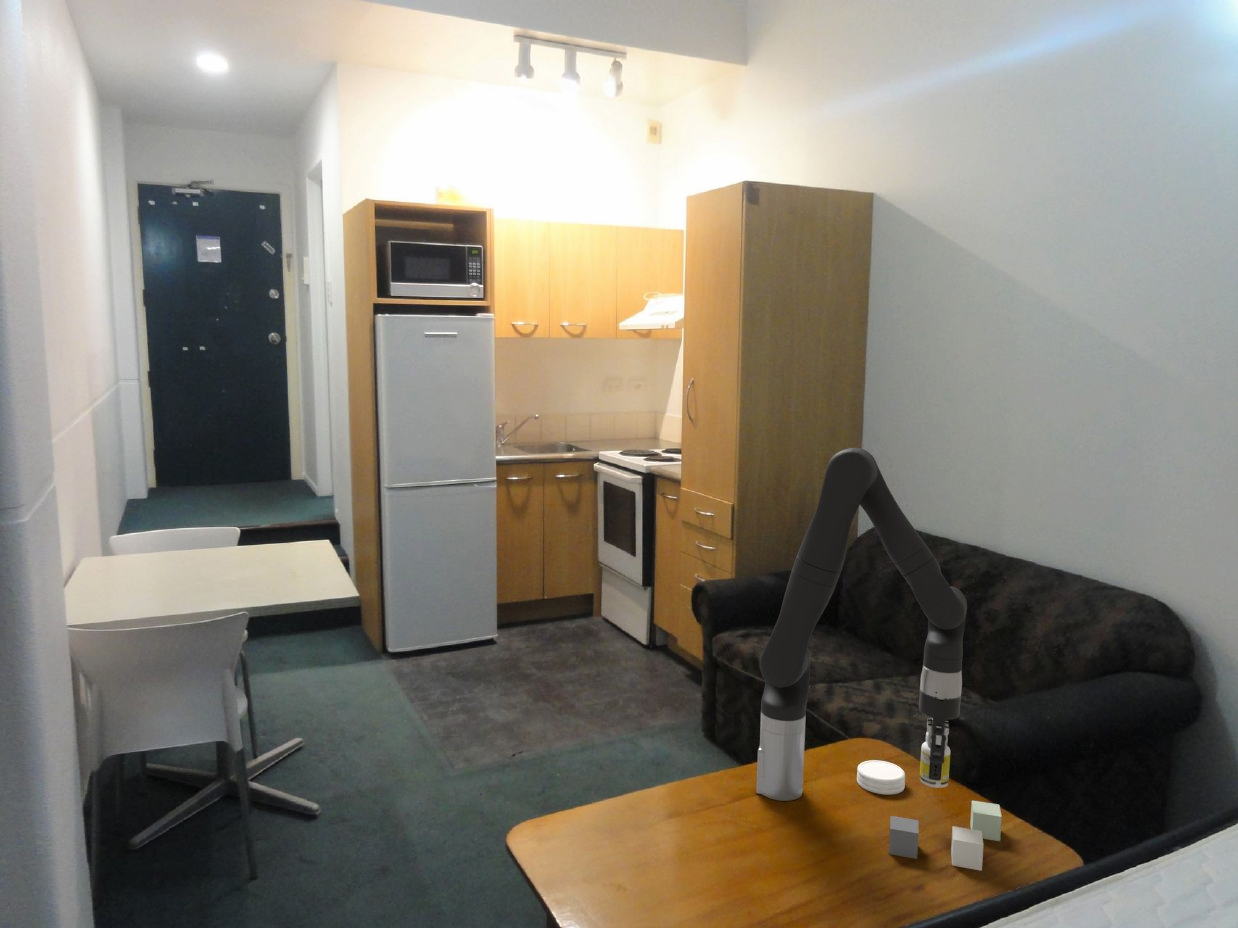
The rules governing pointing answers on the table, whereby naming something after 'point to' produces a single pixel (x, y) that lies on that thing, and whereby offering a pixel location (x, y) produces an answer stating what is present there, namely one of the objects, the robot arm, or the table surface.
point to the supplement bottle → (926, 763)
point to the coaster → (881, 777)
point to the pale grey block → (967, 848)
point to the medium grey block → (903, 837)
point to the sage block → (986, 819)
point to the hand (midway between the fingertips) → (934, 772)
